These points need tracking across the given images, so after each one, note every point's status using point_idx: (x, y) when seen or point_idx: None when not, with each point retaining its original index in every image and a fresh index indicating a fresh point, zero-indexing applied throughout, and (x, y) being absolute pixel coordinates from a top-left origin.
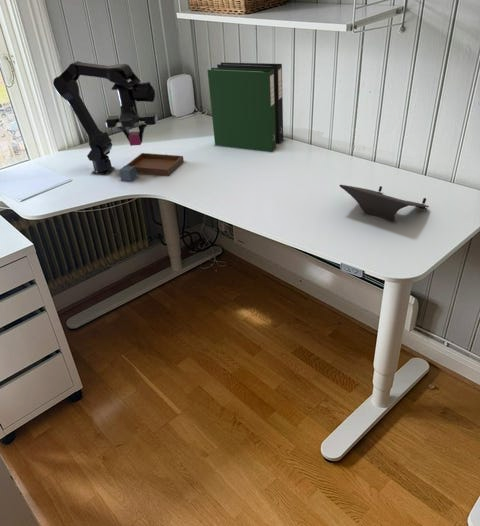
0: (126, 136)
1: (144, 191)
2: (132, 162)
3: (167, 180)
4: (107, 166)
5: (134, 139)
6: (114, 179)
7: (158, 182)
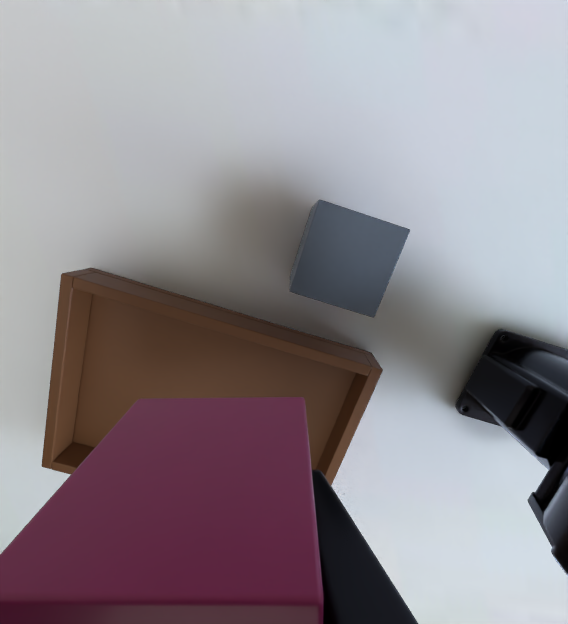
0: (392, 597)
1: (181, 22)
2: (343, 426)
3: (76, 200)
4: (507, 369)
5: (182, 477)
6: (431, 254)
7: (126, 174)
